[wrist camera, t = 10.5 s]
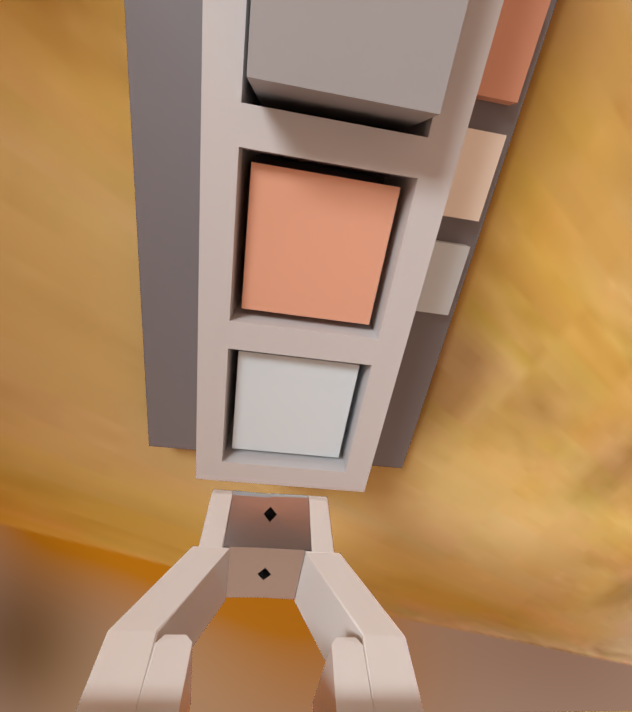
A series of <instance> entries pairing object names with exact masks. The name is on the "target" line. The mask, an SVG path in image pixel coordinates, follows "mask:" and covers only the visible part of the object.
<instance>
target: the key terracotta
mask: <svg viewBox="0 0 632 712" xmlns="http://www.w3.org/2000/svg"><path fill="white" fill-rule="evenodd" d="M400 188H401V187H395V186H389V185H383V184H378V183H372V182H366V181H360V180H354V179H348V178H343V177H337V176H331V175H325V174H319V173H313V172H308V171H302V170H296V169H290V168H284V167H278V166H273V165H267V164H261V163H255V162H251V175H250V190H249V204H248V219H247V234H246V249H245V263H244V278H243V293H242V308H243V309H251V310H258V311H266V312H274V313H281V314H289V315H297V316H305V317H312V318H320V319H328V320H336V321H343V322H351V323H359V324H366V325H369V323H370V318H371V314H372V310H373V305H374V301H375V297H376V292H377V288H378V284H379V279H380V275H381V271H382V266H383V262H384V258H385V253H386V249H387V244H388V240H389V236H390V231H391V227H392V223H393V218H394V214H395V210H396V205H397V201H398V197H399V192H400Z"/></svg>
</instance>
